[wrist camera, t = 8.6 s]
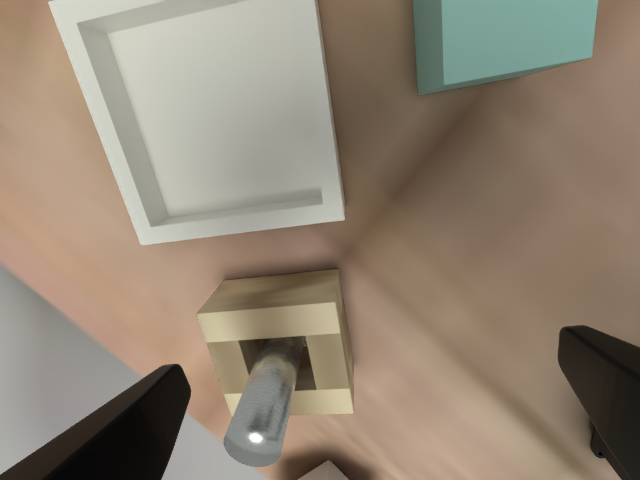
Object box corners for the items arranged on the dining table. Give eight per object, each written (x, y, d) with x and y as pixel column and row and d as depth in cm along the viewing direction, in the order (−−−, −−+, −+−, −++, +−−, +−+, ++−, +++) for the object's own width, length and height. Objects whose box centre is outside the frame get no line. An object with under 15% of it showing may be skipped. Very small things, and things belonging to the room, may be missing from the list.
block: (525, -47, 14) (613, -132, 9) (519, 76, 16) (591, 57, 11) (411, -19, 15) (439, -86, 10) (417, 95, 16) (443, 85, 12)
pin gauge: (311, 337, 22) (286, 466, 14) (276, 340, 23) (232, 467, 14) (304, 306, 21) (274, 424, 13) (268, 310, 22) (216, 426, 13)
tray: (312, -37, 15) (305, -67, 12) (345, 207, 19) (344, 220, 16) (91, 19, 16) (48, 2, 14) (165, 231, 20) (141, 245, 18)
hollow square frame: (338, 268, 20) (335, 302, 16) (353, 366, 23) (353, 413, 19) (223, 280, 21) (196, 313, 18) (250, 371, 24) (232, 417, 20)
